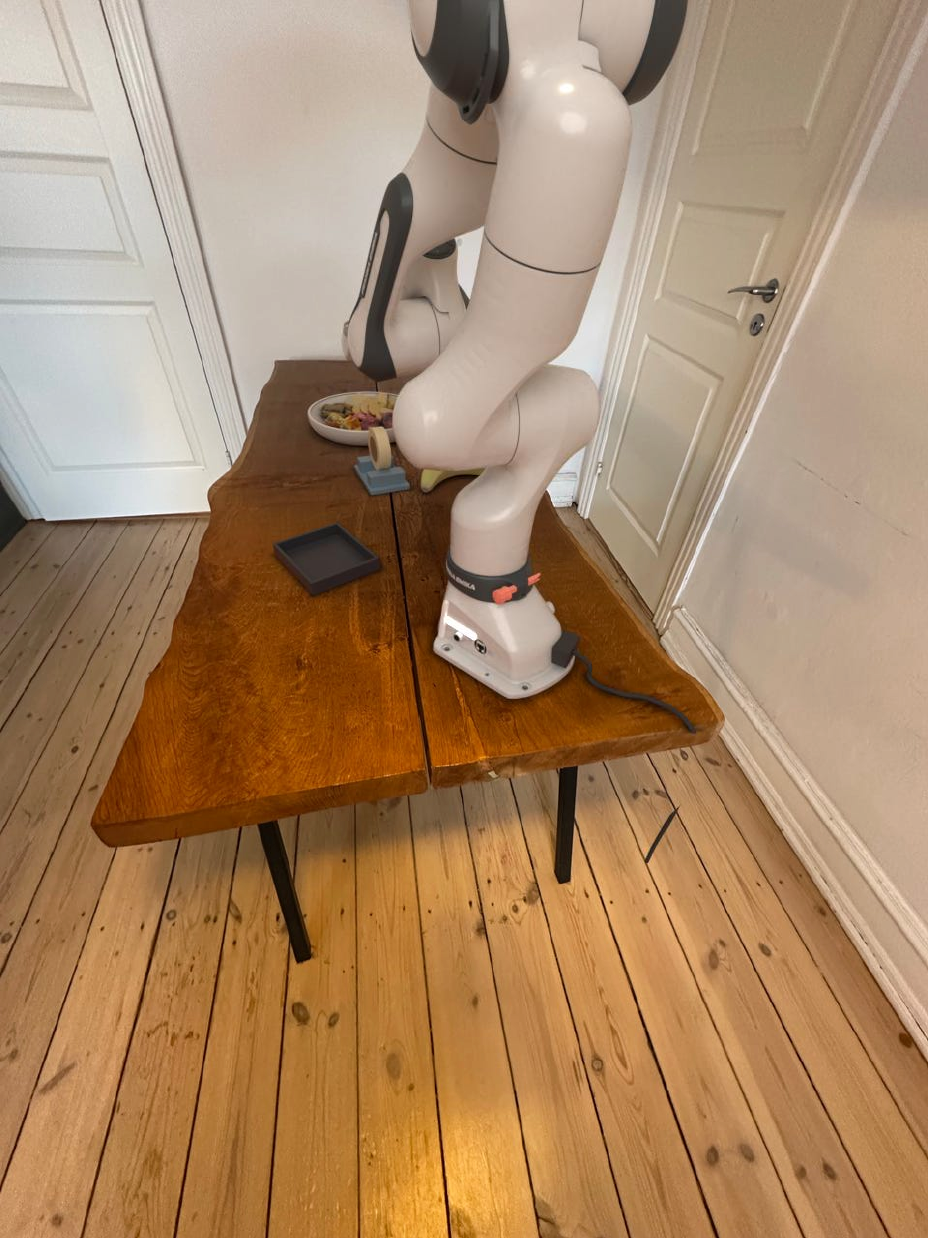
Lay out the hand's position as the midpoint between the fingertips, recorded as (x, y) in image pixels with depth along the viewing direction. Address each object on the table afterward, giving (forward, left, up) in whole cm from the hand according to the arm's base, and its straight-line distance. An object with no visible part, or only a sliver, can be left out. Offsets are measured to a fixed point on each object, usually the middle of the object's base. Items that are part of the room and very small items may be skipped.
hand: (394, 364), depth 101 cm
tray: (-12, +24, -28) cm, 39 cm away
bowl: (+39, -15, -28) cm, 50 cm away
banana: (-1, -17, -28) cm, 33 cm away
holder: (+11, -2, -28) cm, 30 cm away
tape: (+11, -2, -20) cm, 23 cm away
